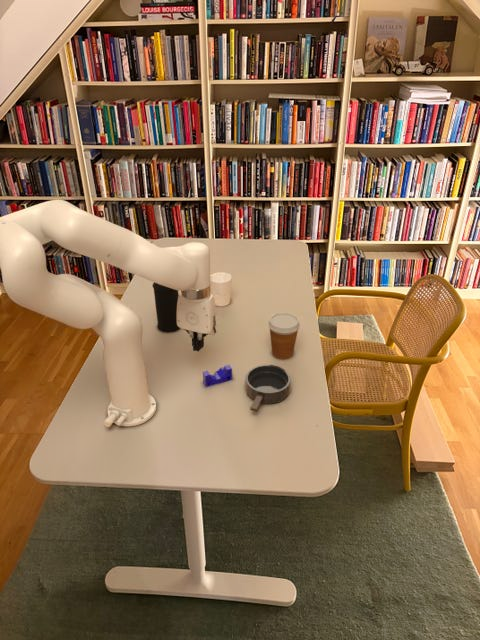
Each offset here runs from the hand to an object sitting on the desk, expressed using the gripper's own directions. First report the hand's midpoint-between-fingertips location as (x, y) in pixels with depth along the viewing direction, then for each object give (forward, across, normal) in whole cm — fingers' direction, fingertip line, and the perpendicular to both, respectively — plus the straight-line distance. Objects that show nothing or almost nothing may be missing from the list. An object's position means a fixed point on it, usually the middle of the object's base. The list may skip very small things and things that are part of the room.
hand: (198, 348), depth 134 cm
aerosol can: (+10, -20, +21) cm, 31 cm away
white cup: (+9, -10, +42) cm, 44 cm away
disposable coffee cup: (+9, +20, +19) cm, 29 cm away
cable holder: (+10, +6, 0) cm, 11 cm away
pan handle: (+7, +20, -8) cm, 23 cm away
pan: (+9, +20, +1) cm, 22 cm away
